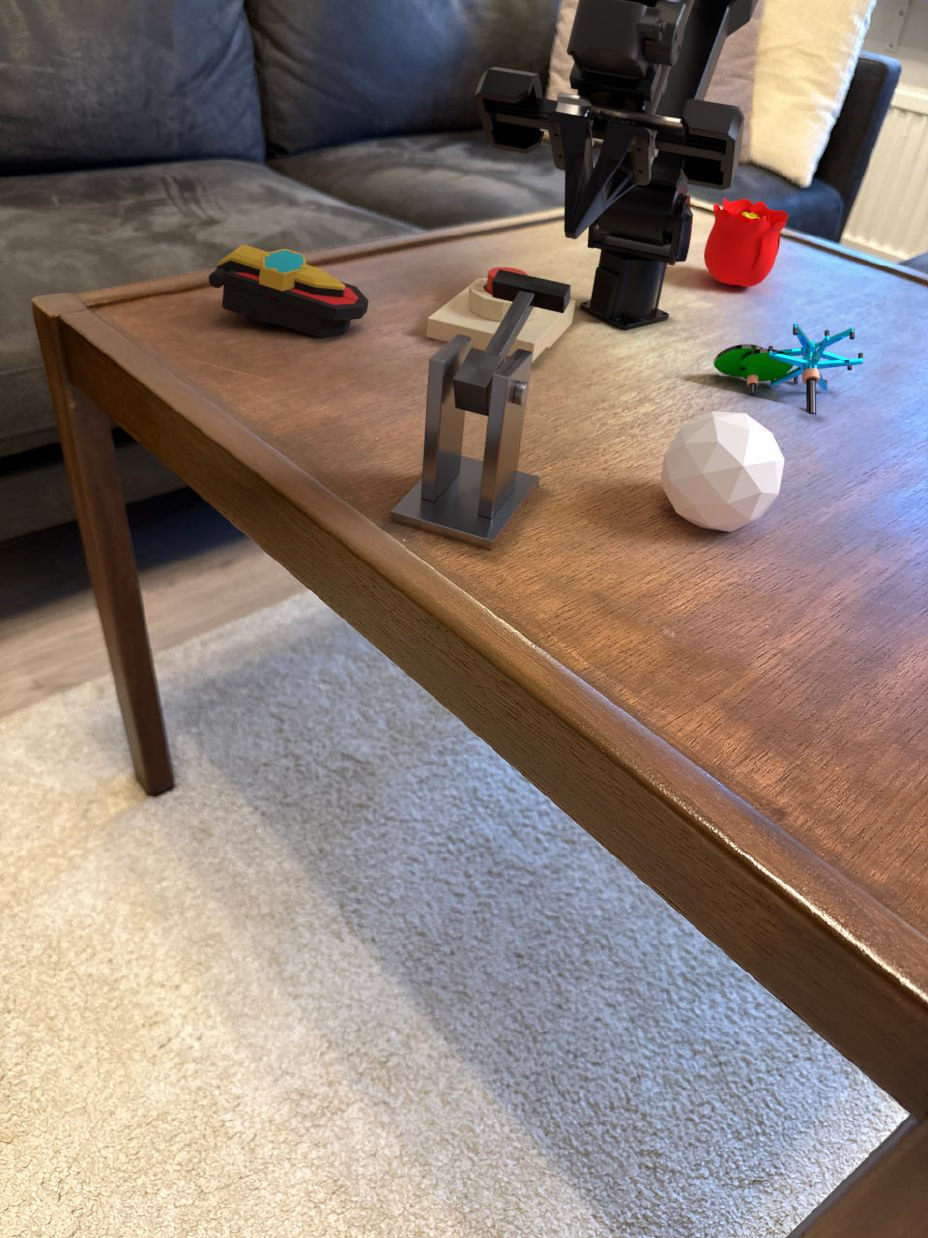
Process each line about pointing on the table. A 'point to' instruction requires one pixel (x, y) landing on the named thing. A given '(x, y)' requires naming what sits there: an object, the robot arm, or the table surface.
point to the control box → (495, 321)
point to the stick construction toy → (786, 363)
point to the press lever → (504, 334)
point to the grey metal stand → (465, 487)
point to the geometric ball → (722, 470)
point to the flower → (743, 242)
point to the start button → (493, 272)
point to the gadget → (286, 292)
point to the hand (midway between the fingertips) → (569, 235)
